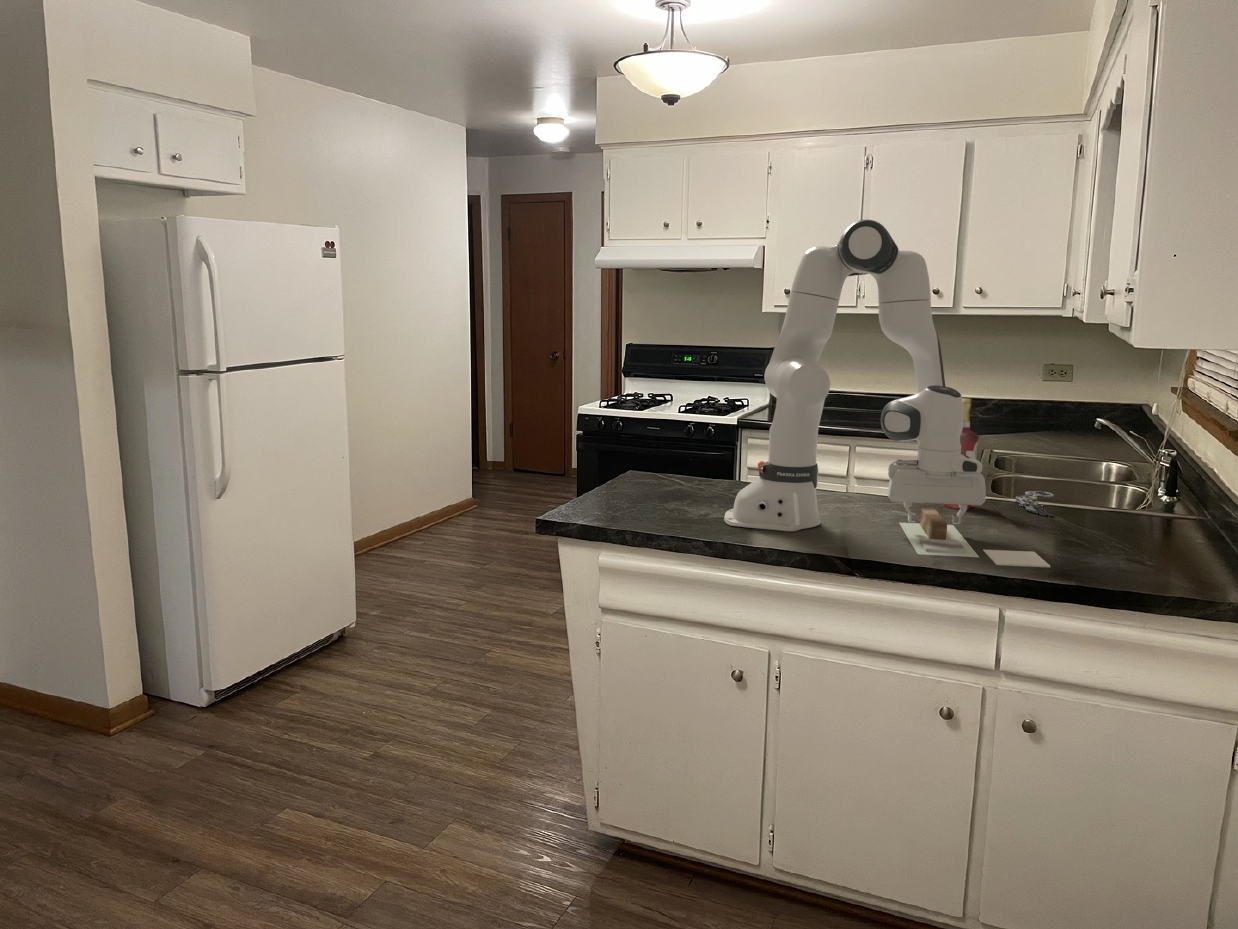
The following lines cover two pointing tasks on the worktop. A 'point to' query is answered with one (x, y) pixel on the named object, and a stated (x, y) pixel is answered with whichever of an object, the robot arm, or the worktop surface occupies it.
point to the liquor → (967, 440)
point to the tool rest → (916, 532)
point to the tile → (1016, 558)
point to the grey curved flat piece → (1032, 500)
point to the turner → (937, 534)
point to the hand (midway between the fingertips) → (933, 522)
